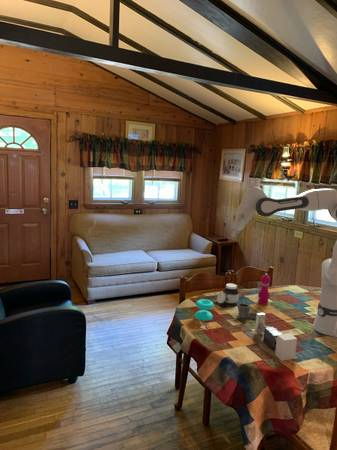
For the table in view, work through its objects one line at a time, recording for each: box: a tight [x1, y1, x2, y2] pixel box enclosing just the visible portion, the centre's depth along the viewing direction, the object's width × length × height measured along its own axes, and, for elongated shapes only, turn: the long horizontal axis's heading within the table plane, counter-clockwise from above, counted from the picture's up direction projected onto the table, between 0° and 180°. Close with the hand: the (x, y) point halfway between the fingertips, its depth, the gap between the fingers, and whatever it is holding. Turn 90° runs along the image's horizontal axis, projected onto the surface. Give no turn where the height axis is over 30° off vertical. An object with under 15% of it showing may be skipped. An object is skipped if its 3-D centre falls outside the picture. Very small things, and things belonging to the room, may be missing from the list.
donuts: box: [194, 298, 215, 322], centre depth 195 cm, size 10×10×10 cm
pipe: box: [236, 302, 258, 320], centre depth 198 cm, size 6×13×8 cm, turn 78°
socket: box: [275, 333, 298, 362], centre depth 158 cm, size 7×5×10 cm
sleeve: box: [263, 326, 283, 350], centre depth 168 cm, size 5×8×8 cm, turn 18°
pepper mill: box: [257, 272, 271, 305], centre depth 222 cm, size 7×7×20 cm
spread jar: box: [216, 283, 240, 306], centre depth 219 cm, size 12×11×12 cm
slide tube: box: [254, 312, 277, 343], centre depth 171 cm, size 4×18×10 cm, turn 17°
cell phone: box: [199, 323, 210, 331], centre depth 185 cm, size 9×18×1 cm, turn 69°
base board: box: [245, 330, 300, 362], centre depth 170 cm, size 13×28×1 cm, turn 18°
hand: (233, 236), depth 192 cm, fingers open, 8 cm apart
